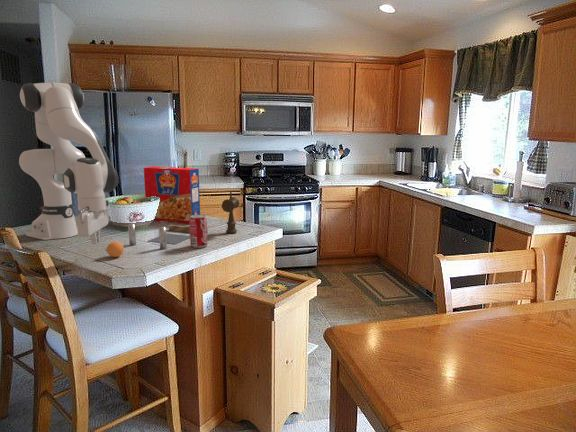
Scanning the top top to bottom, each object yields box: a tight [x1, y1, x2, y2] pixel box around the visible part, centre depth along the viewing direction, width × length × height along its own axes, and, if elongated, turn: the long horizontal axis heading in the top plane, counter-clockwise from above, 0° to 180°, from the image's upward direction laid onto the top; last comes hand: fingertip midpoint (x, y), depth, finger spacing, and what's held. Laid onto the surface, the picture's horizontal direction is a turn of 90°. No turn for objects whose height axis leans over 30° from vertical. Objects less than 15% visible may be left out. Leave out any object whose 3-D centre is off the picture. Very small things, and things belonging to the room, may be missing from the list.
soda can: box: [188, 214, 209, 249], centre depth 176 cm, size 7×7×13 cm
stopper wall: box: [168, 224, 208, 234], centre depth 201 cm, size 20×2×2 cm, turn 71°
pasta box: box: [143, 165, 201, 225], centre depth 223 cm, size 28×8×28 cm, turn 70°
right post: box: [158, 225, 168, 250], centre depth 173 cm, size 3×3×9 cm
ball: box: [106, 241, 125, 258], centre depth 162 cm, size 6×6×6 cm
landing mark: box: [148, 233, 190, 245], centre depth 189 cm, size 14×14×1 cm
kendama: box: [221, 190, 240, 234], centre depth 199 cm, size 6×10×20 cm, turn 169°
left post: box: [127, 223, 137, 247], centre depth 178 cm, size 3×3×9 cm
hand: (95, 243), depth 151 cm, fingers closed
